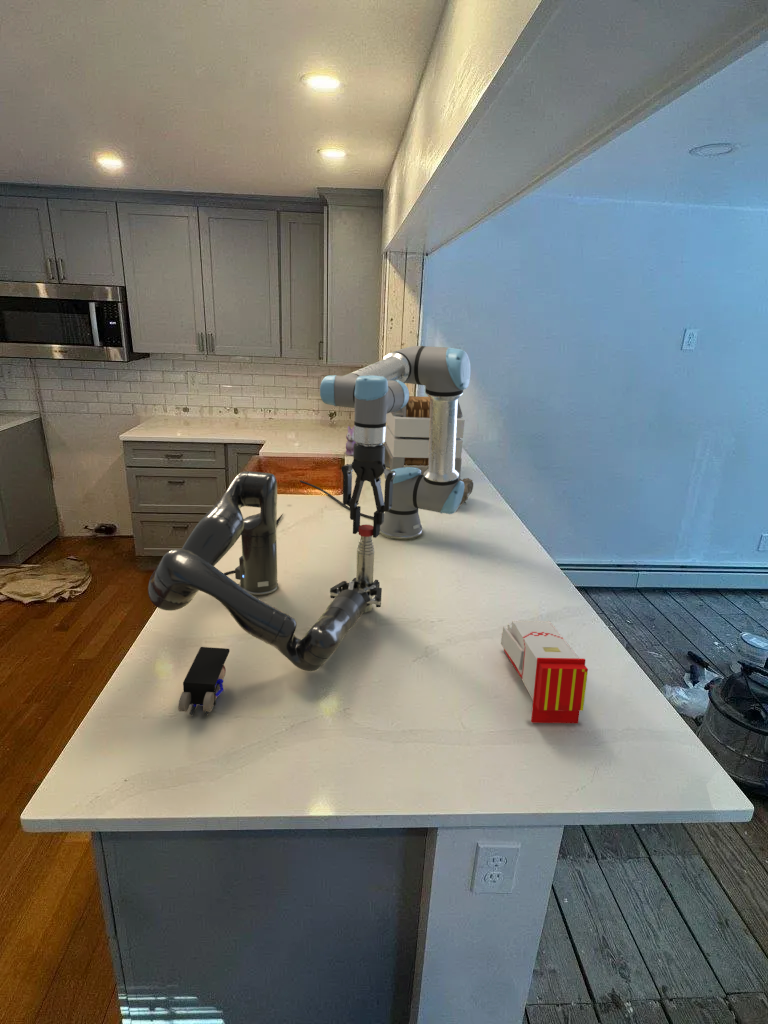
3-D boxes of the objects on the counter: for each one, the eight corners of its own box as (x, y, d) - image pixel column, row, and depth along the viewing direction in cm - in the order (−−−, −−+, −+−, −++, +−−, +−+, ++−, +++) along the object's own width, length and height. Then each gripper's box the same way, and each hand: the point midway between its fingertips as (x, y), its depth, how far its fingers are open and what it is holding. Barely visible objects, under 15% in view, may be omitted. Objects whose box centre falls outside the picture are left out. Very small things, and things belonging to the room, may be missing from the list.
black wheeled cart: (215, 728, 107) (233, 673, 120) (211, 698, 104) (230, 644, 117) (179, 727, 107) (201, 672, 120) (174, 697, 103) (197, 644, 117)
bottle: (355, 612, 147) (357, 533, 140) (355, 604, 152) (357, 526, 144) (371, 612, 148) (375, 533, 140) (372, 604, 152) (375, 527, 144)
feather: (290, 508, 223) (292, 504, 223) (272, 532, 197) (275, 527, 196) (286, 505, 223) (289, 501, 223) (268, 529, 197) (271, 525, 196)
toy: (547, 606, 135) (596, 665, 106) (541, 658, 138) (589, 729, 108) (496, 604, 134) (532, 664, 105) (492, 657, 137) (526, 729, 108)
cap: (358, 536, 140) (358, 530, 140) (358, 530, 144) (358, 524, 143) (374, 537, 141) (374, 530, 140) (373, 531, 144) (374, 524, 144)
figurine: (348, 456, 299) (349, 428, 294) (341, 451, 307) (341, 424, 302) (364, 455, 303) (365, 427, 298) (356, 450, 312) (357, 423, 307)
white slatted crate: (382, 463, 289) (386, 382, 275) (445, 464, 293) (451, 384, 279) (390, 482, 257) (394, 392, 243) (460, 483, 261) (468, 394, 247)
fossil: (437, 484, 244) (466, 465, 239) (450, 500, 247) (479, 482, 242) (436, 505, 224) (468, 485, 219) (450, 523, 227) (482, 504, 222)
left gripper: (316, 619, 138) (342, 589, 153) (372, 631, 134) (393, 598, 149) (316, 591, 135) (343, 563, 150) (373, 603, 131) (394, 572, 147)
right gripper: (410, 444, 135) (404, 535, 143) (342, 435, 141) (340, 523, 149) (399, 450, 128) (394, 545, 136) (328, 441, 134) (327, 532, 142)
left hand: (368, 581), depth 150 cm, fingers closed on bottle, 4 cm apart
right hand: (366, 533), depth 142 cm, fingers open, 5 cm apart
